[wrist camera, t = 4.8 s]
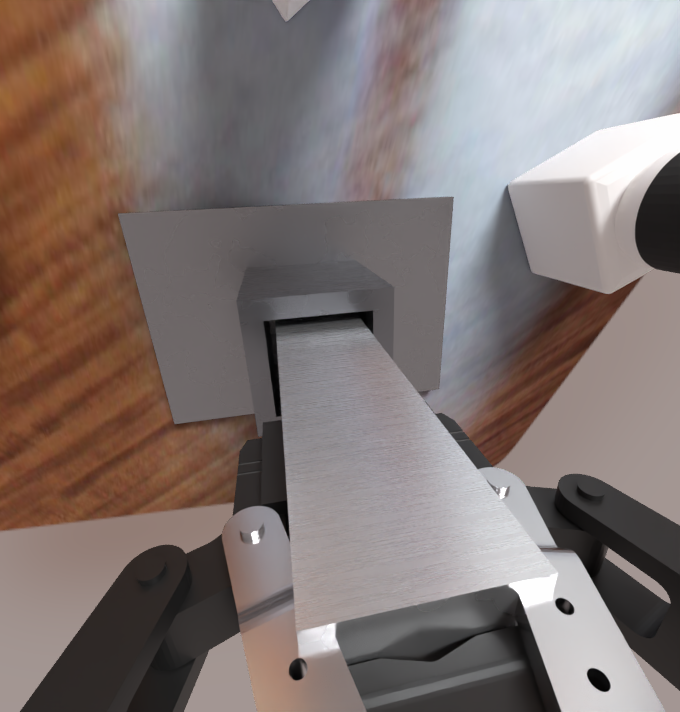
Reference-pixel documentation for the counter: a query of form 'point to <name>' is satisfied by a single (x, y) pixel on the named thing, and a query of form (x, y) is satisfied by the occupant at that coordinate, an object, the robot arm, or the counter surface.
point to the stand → (285, 291)
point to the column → (387, 507)
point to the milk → (289, 7)
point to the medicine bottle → (604, 206)
